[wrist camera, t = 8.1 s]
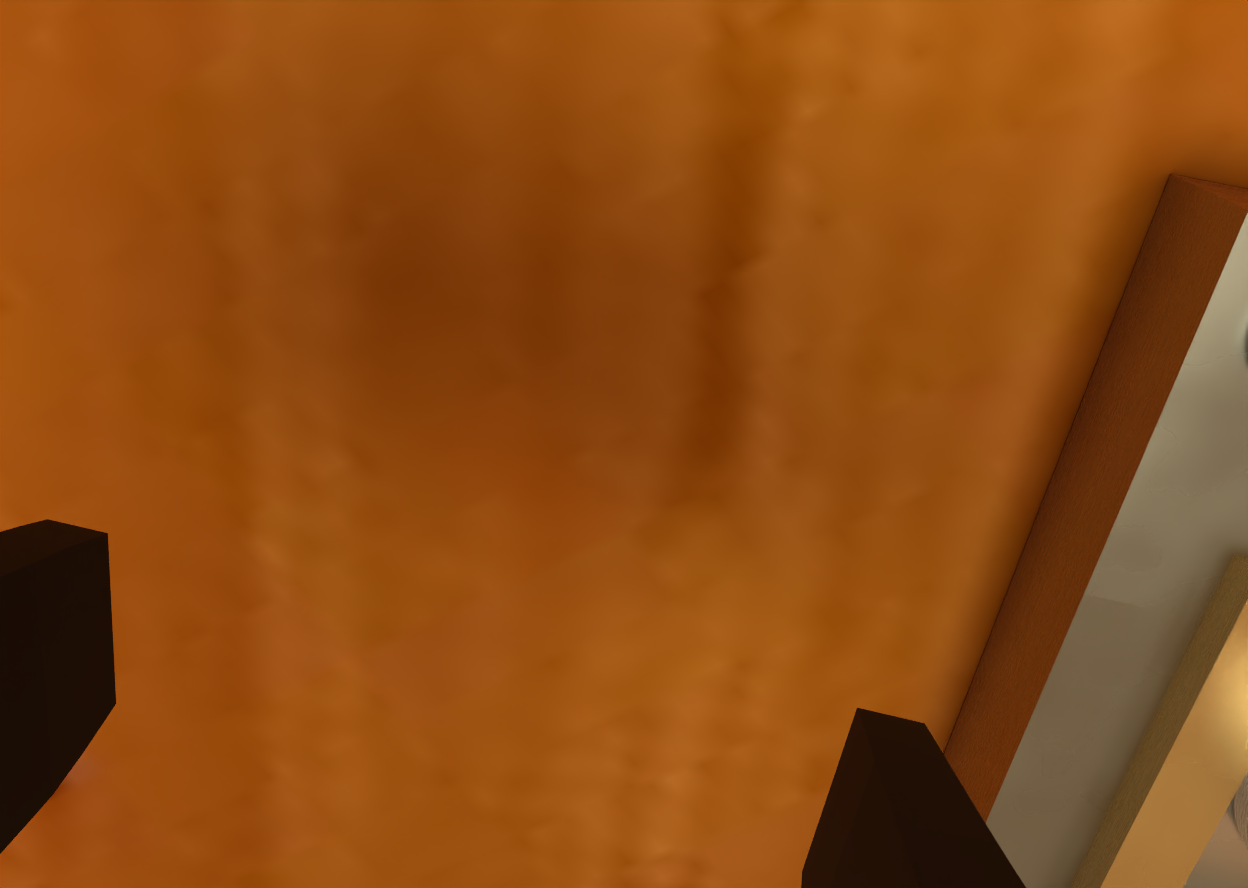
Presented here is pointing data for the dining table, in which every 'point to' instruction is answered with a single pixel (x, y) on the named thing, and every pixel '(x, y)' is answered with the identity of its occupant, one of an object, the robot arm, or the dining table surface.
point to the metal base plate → (1134, 593)
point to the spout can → (1242, 810)
